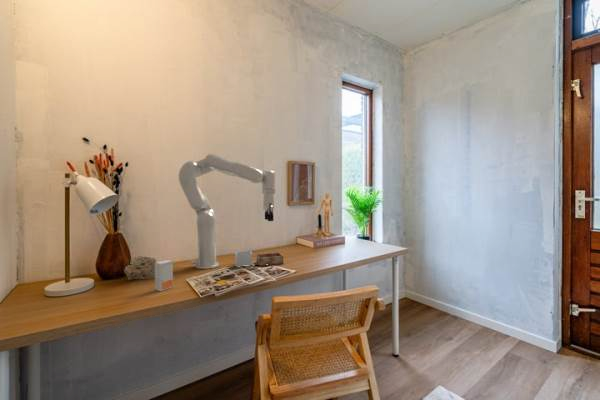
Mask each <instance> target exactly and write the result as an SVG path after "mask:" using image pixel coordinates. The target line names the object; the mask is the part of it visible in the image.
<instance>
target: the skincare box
mask: <svg viewBox="0 0 600 400" xmlns="http://www.w3.org/2000/svg"><path fill="white" fill-rule="evenodd" d="M173 263H174V261H173V260H169V259H165V260H162V261H161V260H160V261H158V262H157V261H156V263H155V278H154V291H158V292H163V291H166V290H169V289H173V288H174V264H173Z"/></svg>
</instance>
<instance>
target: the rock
mask: <svg viewBox="0 0 600 400" xmlns="http://www.w3.org/2000/svg"><path fill="white" fill-rule="evenodd" d="M130 261H131V262H130V265H128V266H126V265H125V267H124V269H123V273H124V274H125V275H126V277H127V279H128V281H131V280H151V279H155V263H156V262H157V261H156V259H155V257H150V256H136V257H134V258H132V259H131V260H130Z"/></svg>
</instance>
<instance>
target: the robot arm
mask: <svg viewBox="0 0 600 400" xmlns="http://www.w3.org/2000/svg"><path fill="white" fill-rule="evenodd" d="M213 171H216V172H219V173H221V174H225V175H227V176H231V177H236V178H237V177H238V178H241V179H244V180H247V181H250V182H251V183H253V184H262V188H261V189H262V192H261V193H262V195H263V200H262V201H263V202H262V203H263V205H262V209H263V211H264V220H267V221H268V222H274V209H275V195H276V173H275V171H274V170H264V171H262V170H259V169H257V168H255V167H252V166H249V165H246V164H243V163H239V162H237V161H234V160H232V159H229V158H226V157H223V156H220V155H218V154H215V153H209V154H207V155H206V156H205V158H203V159H201V160H198V161H194V160H193V161H192V160H191V161H190V160H188V161H186V162H185V163H184V164H183V165H182V166H181V167H180V169H179V172H178V181H179V184H180V187H181V189H182V192H183V193H184V196H185V197H186V199H187V201H188V204H189V206H190V208H192V210H194V211H195V214H196V215H197V217H196V227H197V228H196V229H197V253H198V254H197V255H198V256H197V259H190V261H189V264H190V265H191V264H192V265H195V268H196V269H199V270H208V269H213V268H217V267H218V266H220V262H218V261H217V244H216V240H217V239H216V220H217V217H216V213H215V211H214V209H213V207H212V205H211V203H210V201H209V199H208V197H207V195H205V194H203V191H202V190H201V188H200V186H199V183H198V182H197V178H198V177H201V176H204V175H205V174H206V175H207V174H209V173H211V172H213Z"/></svg>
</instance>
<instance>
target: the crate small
mask: <svg viewBox="0 0 600 400" xmlns="http://www.w3.org/2000/svg"><path fill="white" fill-rule="evenodd" d="M234 253H235V255H234V256H235V260H234V261H235V267H236V266H243V265H254V264H253V262H254V261H253V252H252V251H239V252H238V251H237V252H236V251H235V252H234Z"/></svg>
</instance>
